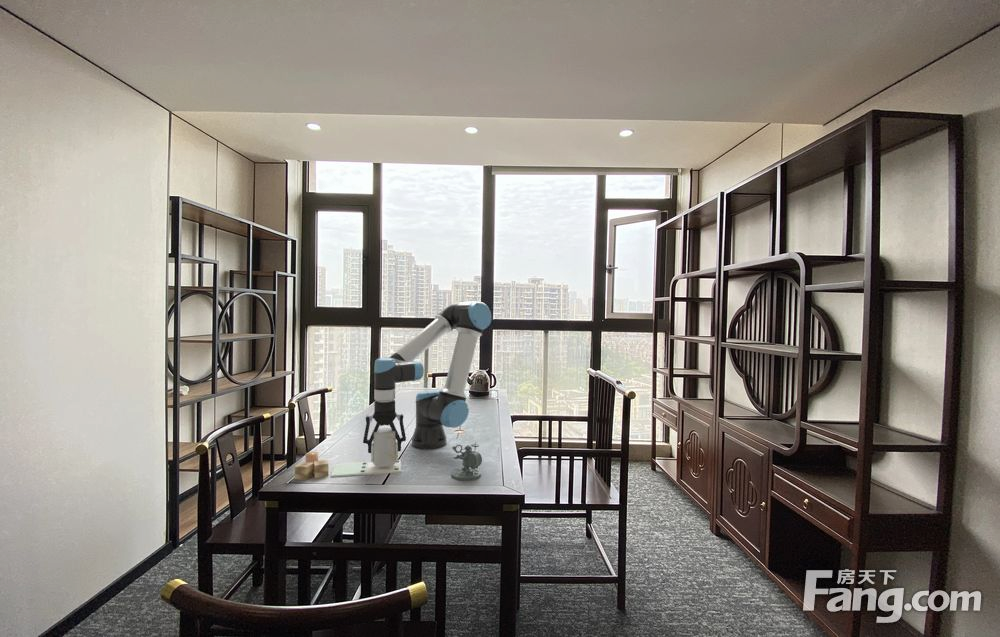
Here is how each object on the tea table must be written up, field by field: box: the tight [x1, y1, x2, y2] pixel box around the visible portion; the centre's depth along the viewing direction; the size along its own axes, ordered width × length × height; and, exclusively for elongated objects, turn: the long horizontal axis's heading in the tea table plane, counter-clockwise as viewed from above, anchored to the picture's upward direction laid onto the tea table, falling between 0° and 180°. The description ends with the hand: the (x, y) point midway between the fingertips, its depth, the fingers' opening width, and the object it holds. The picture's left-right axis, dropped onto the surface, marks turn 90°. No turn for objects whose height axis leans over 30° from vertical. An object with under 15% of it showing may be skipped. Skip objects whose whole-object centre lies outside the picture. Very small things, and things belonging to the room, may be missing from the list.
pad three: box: [330, 461, 370, 478], centre depth 166 cm, size 12×12×1 cm
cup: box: [372, 427, 397, 467], centre depth 168 cm, size 8×8×12 cm
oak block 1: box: [294, 461, 314, 481], centre depth 158 cm, size 4×4×4 cm
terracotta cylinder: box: [304, 451, 319, 463], centre depth 166 cm, size 4×4×6 cm
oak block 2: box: [313, 459, 329, 479], centre depth 161 cm, size 4×4×4 cm
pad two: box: [366, 459, 402, 476], centre depth 168 cm, size 12×12×1 cm
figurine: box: [451, 442, 483, 482], centre depth 161 cm, size 11×11×12 cm
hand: (384, 460), depth 168 cm, fingers closed on cup, 8 cm apart
